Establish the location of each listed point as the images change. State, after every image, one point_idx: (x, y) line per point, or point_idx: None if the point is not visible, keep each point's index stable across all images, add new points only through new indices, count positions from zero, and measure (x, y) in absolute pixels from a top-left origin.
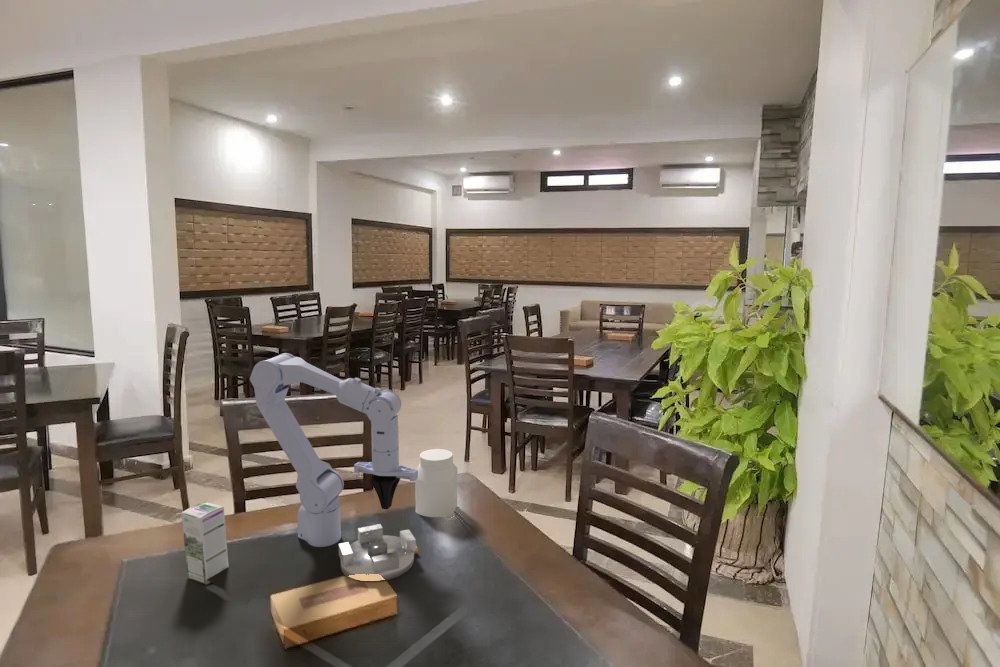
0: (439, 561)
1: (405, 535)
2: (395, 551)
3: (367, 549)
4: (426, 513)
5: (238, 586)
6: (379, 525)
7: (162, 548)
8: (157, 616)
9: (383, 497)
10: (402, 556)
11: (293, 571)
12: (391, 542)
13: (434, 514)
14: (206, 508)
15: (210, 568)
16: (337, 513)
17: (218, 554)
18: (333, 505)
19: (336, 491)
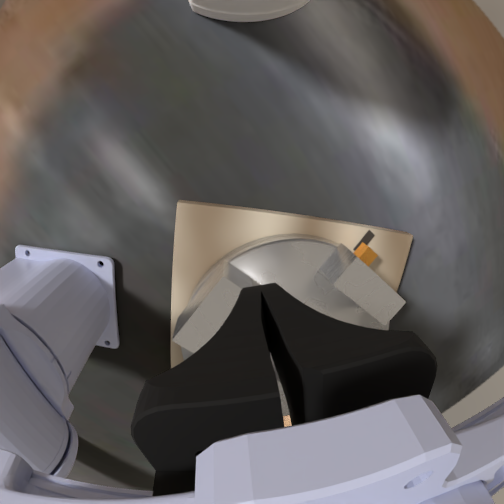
0: (413, 224)
1: (366, 299)
2: (336, 318)
3: None
4: (253, 10)
5: (105, 443)
6: (229, 287)
7: None
8: (104, 482)
9: (283, 390)
10: (366, 326)
11: (128, 401)
12: (295, 284)
13: (284, 5)
14: None
15: None
16: (67, 349)
17: None
18: (48, 377)
19: (11, 387)
